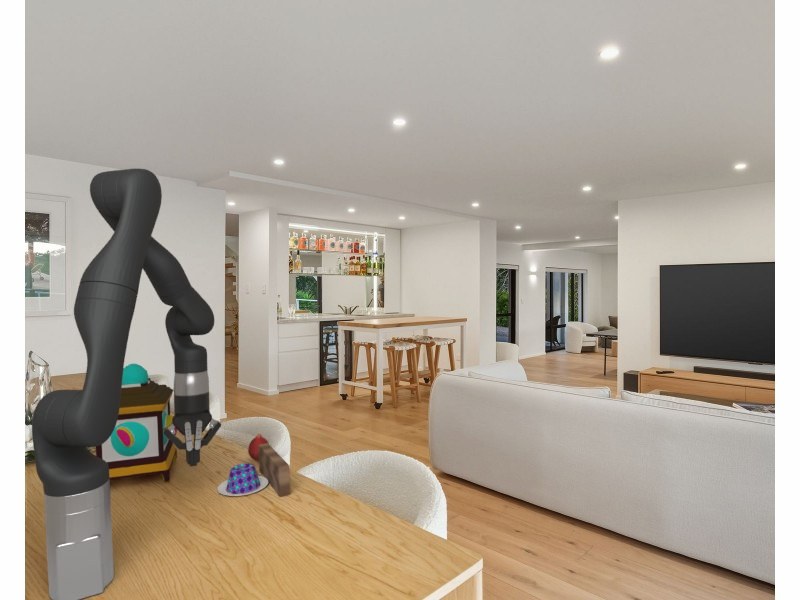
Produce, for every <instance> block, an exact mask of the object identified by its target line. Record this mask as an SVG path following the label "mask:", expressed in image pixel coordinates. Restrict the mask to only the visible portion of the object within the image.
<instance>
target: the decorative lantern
mask: <svg viewBox="0 0 800 600" xmlns="http://www.w3.org/2000/svg"><path fill="white" fill-rule="evenodd" d="M173 394H174V391H173V389H172V388H171V387H170V386H167V384H159V383H157V382H155V381H154V380H151V378H150V377H149V372H148V370H147V369H146V368H145V367H143V366H142V365H140V364H137V363H129V364H128V365H126V366H124V368H123V378H122V389H121V399H120V408H119V414H118V419H117V422H116V426H115V428H114V431H113V433H112V434H111V436H110V437H109V439H108V440H107V441H106V442H104V443H103V444H101V445H99V446H96V447H95V456H97V457H99V458H101V459H103V460H104V461H106V462H107V464H108V466H109V479H110V481H115V480H121V479H122V480H123V479H130V478H137V477H145V476H153V475H161V476H162V480H163V483H165V484H168V483H169V482H170V477H171V476H170V475H171V467H172V465H173V463H174V462H176V461H177V459H178V453H177V452H178V450H177V447H176V446H175V445H174V444H173V443H172V442H171V441H170V440H169V439H168V438H167V437H166V436H165V435H164V433H163V429H164V428H165V427H168V426H169V425H170V424H171V423H172V419H173V417H174V415H172V414H171V398H172V395H173ZM174 430H175V434H174V435H175V436H176V437H177V433H178V430H177V428H176V427H175V428H174Z"/></svg>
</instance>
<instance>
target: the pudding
mask: <svg viewBox="0 0 800 600" xmlns="http://www.w3.org/2000/svg"><path fill="white" fill-rule="evenodd" d="M268 485H269V482H268V480H267V479H266V478H265V477H264V476H263V475H262V476H261V475H259V474H258V471H257V469H256V466H254V464H252V463H241V464H236V465H235V466H232V467H231V468H230V470H229V474H228V479H227V480H225V481H223V482H221V483H220V484H219V485H218V486H217V492H218V493H219V494H221V495H224V496H231V497H237V496H246V495H251V494H254V493H257V492H260V491H261V490H263V489H264V488H266V487H267V486H268Z"/></svg>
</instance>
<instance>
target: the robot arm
mask: <svg viewBox="0 0 800 600" xmlns="http://www.w3.org/2000/svg"><path fill="white" fill-rule="evenodd" d="M162 191H163V190H162V186H161V184H160V180H159V178H158V176H156V174H155V173H153V172H152V171H150V170H148V169H146V168H128V169H117V170H108V171H102V172H100V173H97V174H95V175H94V176H93V177H92V179H91V182H90V184H89V195H90V199H91V201H92V203H93V205H94V206H95V208H96V210H97V211H98V213H99V214H100V216H101V217H102V218H103V219H104V221H105V222H106V224H108V226H109V227H110V229H112V231H113V234H112V236H111V237H110V239H109V240H108V241H107V242H106V243H105V245H104V246H103V247H102V248H101V249H100V251H99V252H98V253H97V254H96V255H95V257H94V258H93V259H91V261H90V262H89V263H88V265H87V267H86V268H85V269H84V271H83V273H82V275H81V278H80V281H79V285H78V288H77V292H76V295H75V301H74V305H73V316H74V317H73V318H74V321H75V325H76V327H77V330H78V332H79V336H80V337H81V340H82V343H83V345H84V348H85V352H86V357H87V363H86V371H85V377H84V381H83V386H82V389H56V390H53V391H50V392H48V393H46V394H45V395H43V396H42V397H41V398H40V399H39V401H38V403H37V404H36V406H35V409H34V411H33V414H32V419H31V434H32V435H31V436H32V437H31V438H32V445H33V453H34V460H35V470H36V474H37V476H38V478H39V480H40V481H41V483H42V485H43V498H44V499H43V500H44V501H43V502H44V520H45V521H44V526H45V541H46V542H45V544H46V563H47V579H48V582H47V583H48V596H49V598H50V599H51V600H81V599H85V598H89V597H91V596H96V595H99V594H102V593H103V592H104V591H105V590H104V589H105V588H106V587H107V586H108V585H109V584H110V583H112V581H113V580H114V577H115V572H114V571H115V569H114V566H115V565H114V551H113V549H114V548H113V547H114V546H113V531H112V530H113V529H112V528H113V526H112V508H111V506H112V505H111V504H112V503H111V485H110V484H111V480H110V479H109V466H108V464H107V462H106V461H104V460H103V459H101V458H99V457H97V456H96V454H93V452H91V451H90V450H89V449H88V448H96V446H99V445H101V444H103V443H104V442H106V441H107V440H108V439H109V437H110V436H111V434H112V433H113V431H114V428H115V426H116V422H117V419H118V414H119V408H120V399H121V389H122V378H123V369H124V368H125V366H124V365H125V359H126V353H127V348H128V341H129V336H130V330H131V326H132V321H133V317H134V314H135V309H136V305H137V299H138V294H139V287H140V283H141V278H142V277H141V275H142V272H143V271H144V273H145V275H146V276H147V278H148V280H149V282H150V283H151V285H152V287H153V289H154V291H155V293H156V295H157V296H158V298H159V300H160V301H161V302H162V304H165V305H166V306H169V307H170V308H169V310H168V311H167V313H166V316H165V318H164V319H165V320H164V322H165V323H164V326H165V329H166V333H167V337H168V339H169V343H170V346H171V349H172V353H173V355H174V363H173V364H174V378H173V409H174V412H173V413H174V415H173V416H174V417H173V419H172V423H171V424H170V425H169V426H168V427H165V428H164V429H163V433H164V435H165V436H166V437H167V438H168V439H169V440H170V441H171V442H172V443H173V444H174V446H175V448H176V449H179V450H183V451H185V461H186V463H187V465H189V467H197V466H198V464H199V463H200V461H201V448H203V447H206V446H208V445H209V443H210V442H211V441H212V440H213V438H214V437H215V435H216V434H217V433H218V431H219V430H220V429H221V427H222V423H221V422H220V421H219V420H216V419H214V418H213V415H212V414H211V411H210V409H211V408H210V407H211V406H210V380H209V378H210V377H209V373H208V371H209V370H208V351H207V347H205V346H203V345H200V344H197V343H195V342H194V341H193V339H192V337H191V336H204V335H207V334H209V333H210V332H211V331H212V330H213V328H214V327H215V316H214V312H213V309H212V308H211V306H210V305H209V303H208V302H207V301H206V300H205V299H204V298H203V297H202V296H201V294H200V293H199V292H198V291H197V290H196V289H195V288H194V287H193V286H192V285H191V282H190V280H189V278H188V275H186V272H185V270H184V268H183V266H182V265H181V262H180V261H179V259H177V257H176V256H174V254H173V253H172V252H171V251H170V250H168V249H167V248H166V247H164V246H163V245H162V244H161V243H160V242H159V241H157V240H156V238H154V237H153V236H152V235H153V232H154V229H155V226H156V223H157V220H158V216H159V214H160V209H161V205H162V198H163V197H162V195H163V193H162ZM175 427H176V428H177V432H179V433H180V434H181V435H182V436H184V442H183V441H181V440H180V438H178V436H177V435H176V436H175V435H174V434H175V430H174V428H175ZM207 427H209V429H208V430H207V432H206V433H204V436H203V437H202V434H203V432H205V431H206V429H207ZM192 436H193V439H192Z"/></svg>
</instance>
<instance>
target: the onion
mask: <svg viewBox="0 0 800 600" xmlns="http://www.w3.org/2000/svg"><path fill="white" fill-rule="evenodd" d="M266 443H268V444H269V445H270V443H269V441H268V440H267V439H266V438H265V437H263V436H262V433H258V434H257V435H256V436H255V437H254V438H253V439H252V440H250V443H249V445H248V448H247V449H248V450H247V451H248V455H249V456H250V458H251V459H253V460H255V461H256V462H258V461H259V449H258V445H260V444H266Z"/></svg>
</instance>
